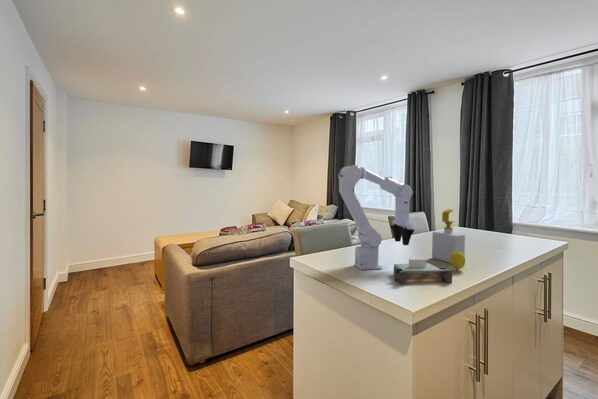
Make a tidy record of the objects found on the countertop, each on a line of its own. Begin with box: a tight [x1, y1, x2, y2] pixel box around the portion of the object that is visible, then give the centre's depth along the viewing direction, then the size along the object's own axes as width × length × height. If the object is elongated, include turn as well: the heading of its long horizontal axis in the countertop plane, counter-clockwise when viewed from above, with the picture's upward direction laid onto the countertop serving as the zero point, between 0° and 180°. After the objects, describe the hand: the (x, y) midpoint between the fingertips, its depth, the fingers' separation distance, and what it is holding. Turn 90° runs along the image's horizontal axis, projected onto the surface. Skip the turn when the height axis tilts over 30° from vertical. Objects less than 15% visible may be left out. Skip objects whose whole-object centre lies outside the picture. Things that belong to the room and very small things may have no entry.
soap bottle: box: [431, 209, 466, 264], centre depth 128 cm, size 12×7×23 cm, turn 23°
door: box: [393, 258, 448, 274], centre depth 105 cm, size 17×10×4 cm, turn 95°
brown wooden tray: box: [393, 266, 453, 286], centre depth 104 cm, size 19×11×4 cm, turn 95°
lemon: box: [449, 251, 466, 271], centre depth 114 cm, size 6×6×8 cm
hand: (401, 243), depth 122 cm, fingers open, 7 cm apart
